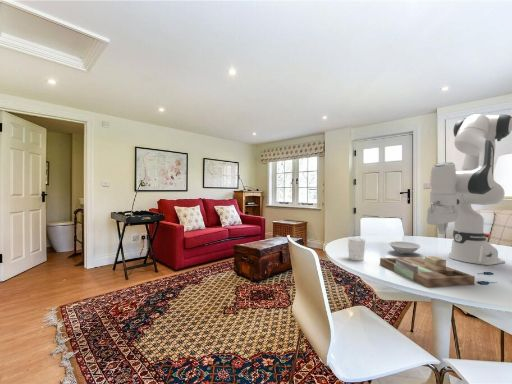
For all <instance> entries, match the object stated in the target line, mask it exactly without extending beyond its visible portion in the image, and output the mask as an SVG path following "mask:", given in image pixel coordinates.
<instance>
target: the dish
mask: <svg viewBox="0 0 512 384" xmlns="http://www.w3.org/2000/svg"><path fill="white" fill-rule="evenodd" d="M388 245H389V246H390V247H391V248H392V249H393V250H394V251H396V252H397V253H401V254H403V255H406V254H411V253H414V252H416V251H417V250H418V249H420V248H421V244H419V243H415V242H410V241H400V240H399V241H396V240H395V241H390V242H388Z"/></svg>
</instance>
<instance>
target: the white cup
mask: <svg viewBox="0 0 512 384" xmlns="http://www.w3.org/2000/svg"><path fill="white" fill-rule="evenodd" d="M347 240H348V241H347V247H348V248H347V249H348V259H349V260H352V261H358V262H361V261H364V255H365V249H366V239H365V238H362V237H355V236H354V237H348V238H347Z"/></svg>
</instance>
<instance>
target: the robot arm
mask: <svg viewBox="0 0 512 384" xmlns="http://www.w3.org/2000/svg"><path fill="white" fill-rule="evenodd" d="M452 131H453V137H454V146H455V148H456V150H458V151H459V152H460V153H462V154H465V155H464V160H463V162H462V163H463V164H462V167H461V170H457V168H456V164H455V162H451V161H450V162H448V161H446V162H439V163H435V164H433V165H432V167H431V169H430V170H431V171H430V179H429V181H430V182H429V183H430V184H429V185H430V191H429V192H430V193H429V205H430V206H428V208H427V215H426V223H427V224H428V225H433V226H436V227H437V230H438V232H437V233H438V234H439V235H444V234H447V229H448V227H449V223H454V228H453V231H452V237H453V240H452V241H451V242H452V243H451V246H450V252H449V253H448V255H449V258H451V259H453V260H455V261H456V260H457V261H459V262H465V263H470V264H478V265H482V266H491V265H492V266H493V265H497V264H504V262H505V263H506V260H505V259H503V258H499V251H498V249H497V248H496V247H495V246H493V245H492V244H491V243H490V242H488V241H487V238H488V239H490V238H491V234H490V233H485V232H484V226H485V225H484V223H485V221H484V219H485V218H484V217H483V215H481V214H480V212H477V211H476V210H474V209H473V207H472V205H480V206H482V205H483V206H490V205H498V204H499V203H501V202H502V201H503V199H504V197H505V190H504V187H503V186H502V185H501V184H499V183H498V182H497V181H495V180H494V179H495V178H494V167H495V166H494V164H495V163H494V162H495V155H496V141H497V142H501V141H502V139H504V138H507V136H509V135H510V134H511V133H512V116H511V115H510V114H500V115H499V114H493V115H492V114H490V115H484V114H483V113H482V114H480V113H478V114H477V113H475V114H472V115H470V116H468V117H465V118H460V119H459V120H457V121H456V122H455V124H454V126H453V130H452Z"/></svg>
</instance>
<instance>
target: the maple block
mask: <svg viewBox="0 0 512 384" xmlns="http://www.w3.org/2000/svg"><path fill="white" fill-rule="evenodd" d="M424 259H425V266H426V267H428V268H431V269H434V270H446V267H447V259H445V258H443V257H439V256H437V255H436V256H435V255H430V256H424Z"/></svg>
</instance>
